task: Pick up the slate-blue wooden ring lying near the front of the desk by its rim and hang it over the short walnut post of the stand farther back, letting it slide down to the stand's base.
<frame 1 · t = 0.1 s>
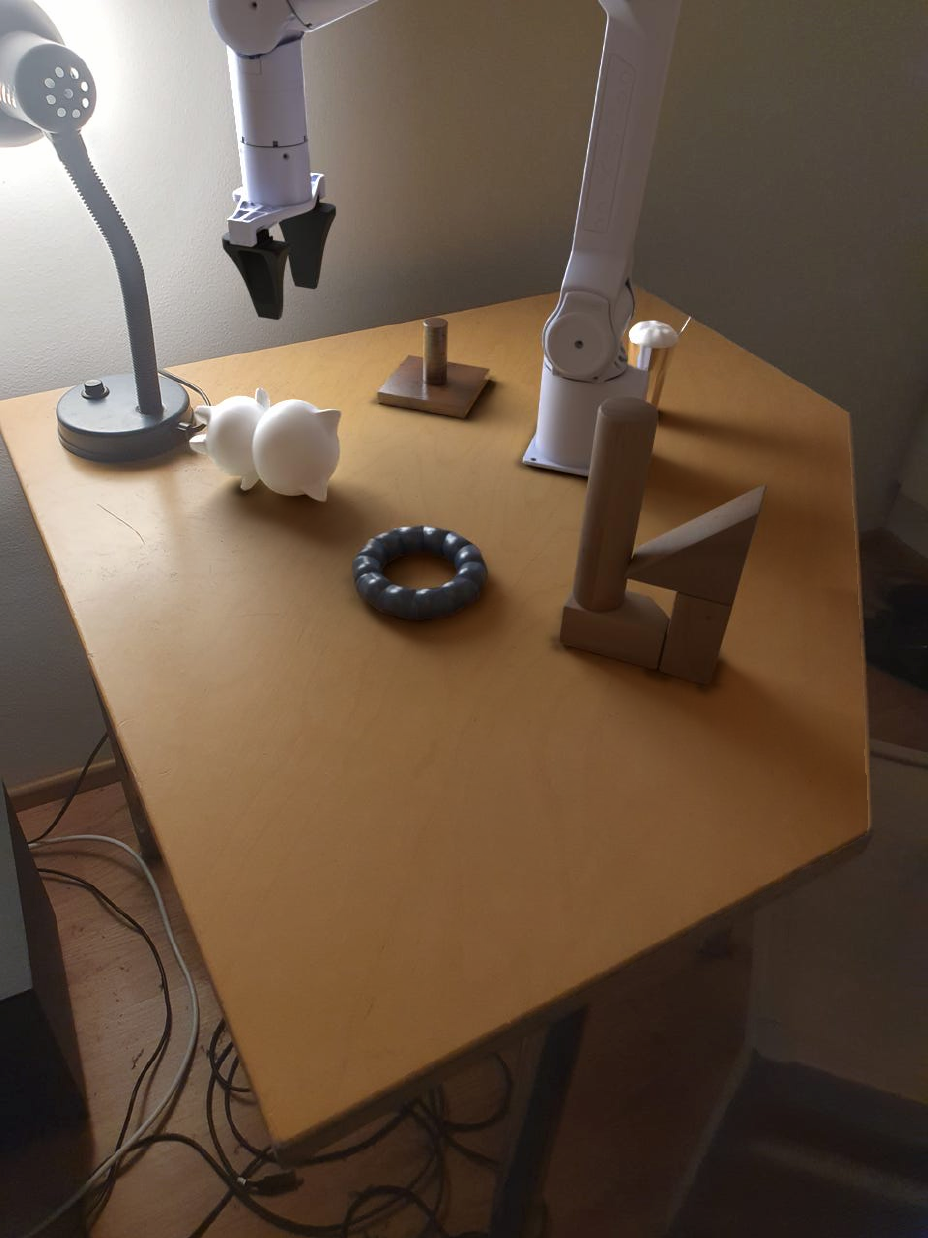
hand: (288, 301, 84), 10 cm above the table, tool pointing down, fingers open, 7 cm apart
ring: (419, 570, 69), point 1 cm above the table
stand: (434, 390, 93), on the table
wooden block: (636, 651, 64), on the table
milkshake: (643, 414, 91), on the table
cat figurine: (281, 479, 80), on the table
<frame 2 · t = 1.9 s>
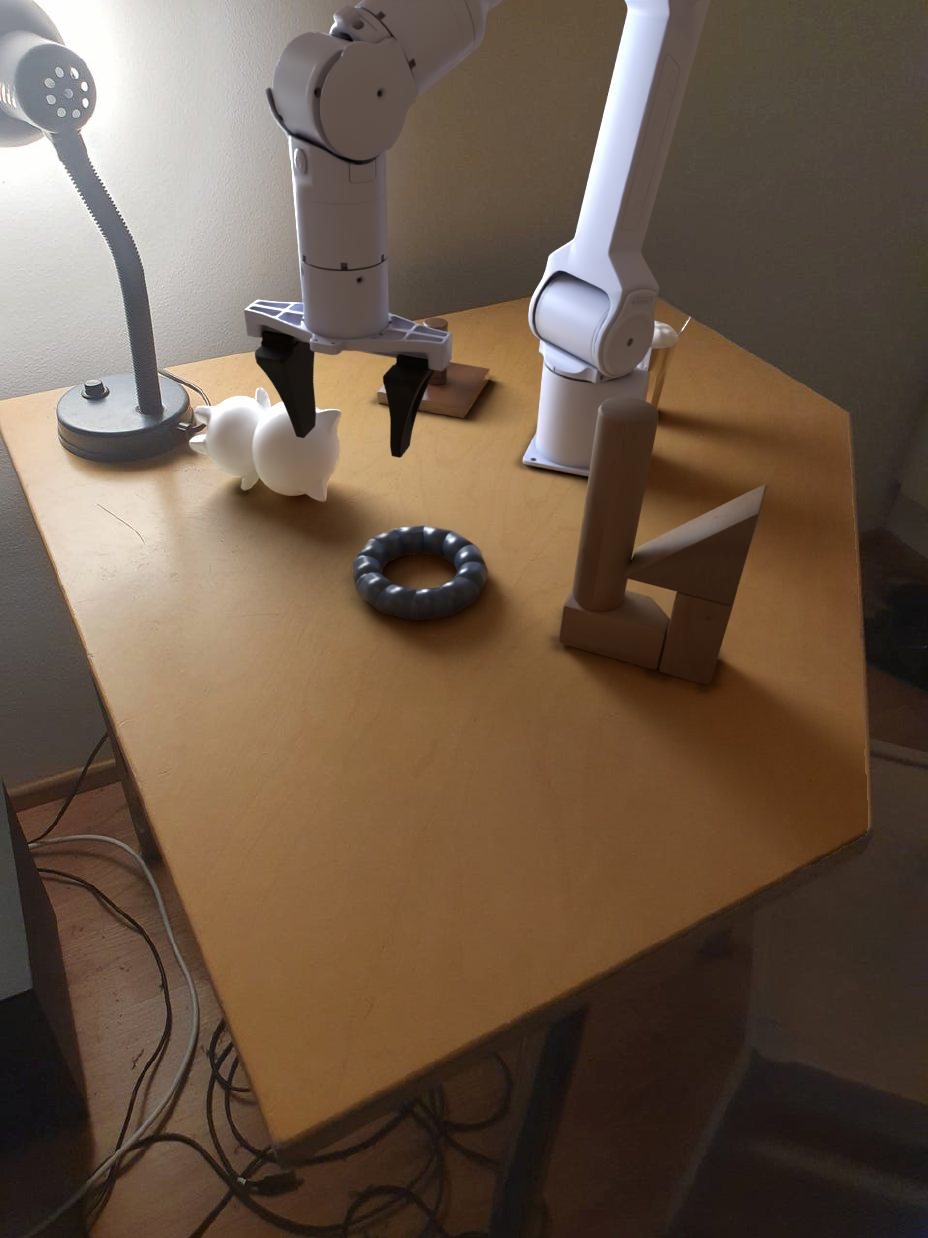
hand: (352, 440, 68), 9 cm above the table, tool pointing down, fingers open, 7 cm apart
nothing on the table moved.
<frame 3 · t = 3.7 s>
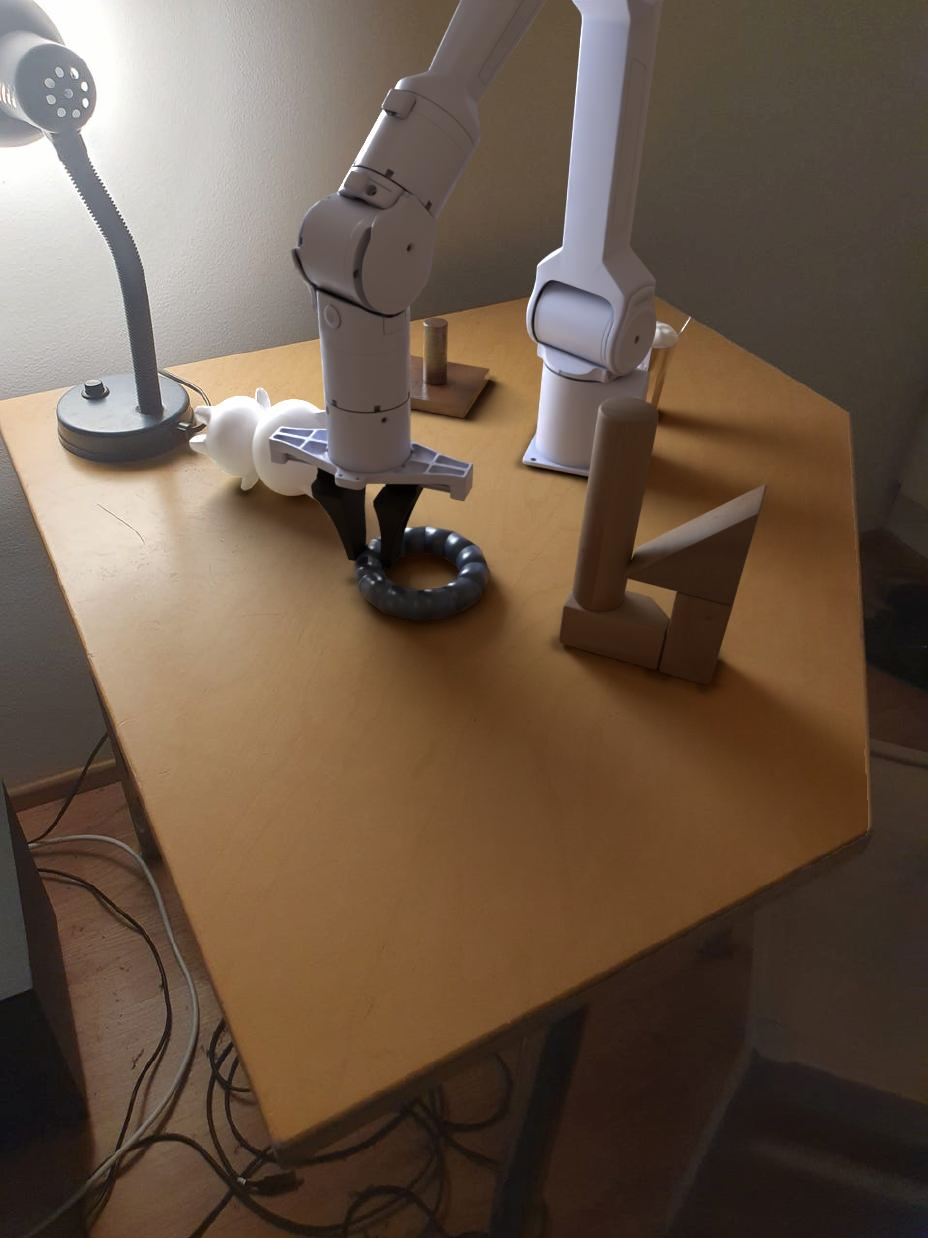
hand: (373, 557, 69), 1 cm above the table, tool pointing down, fingers closed on ring, 2 cm apart
ring: (421, 571, 69), point 1 cm above the table, touching gripper
everything else where it was.
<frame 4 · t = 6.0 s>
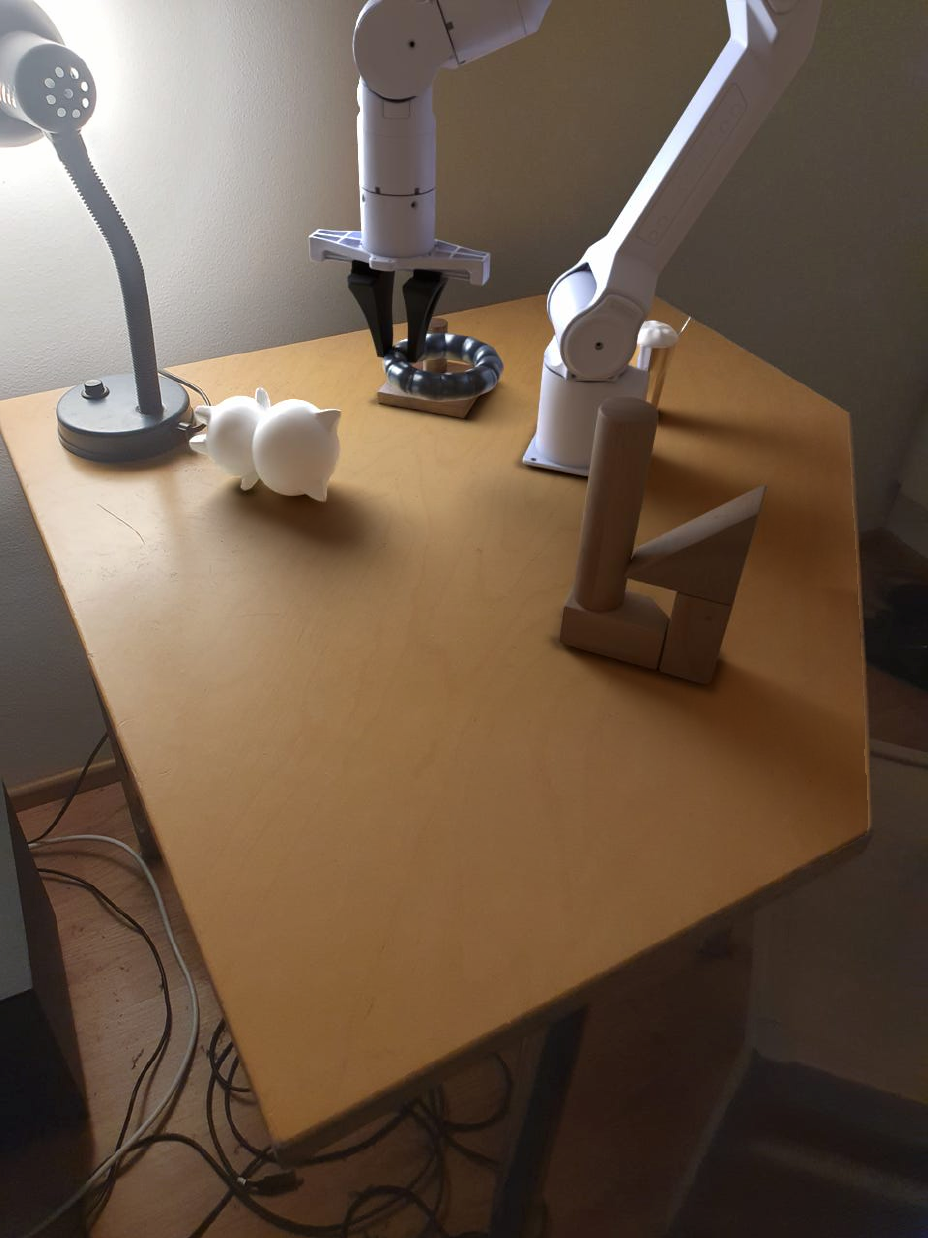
hand: (400, 355, 78), 9 cm above the table, tool pointing down, fingers closed on ring, 2 cm apart
ring: (443, 365, 77), point 9 cm above the table, touching gripper
everything else where it was.
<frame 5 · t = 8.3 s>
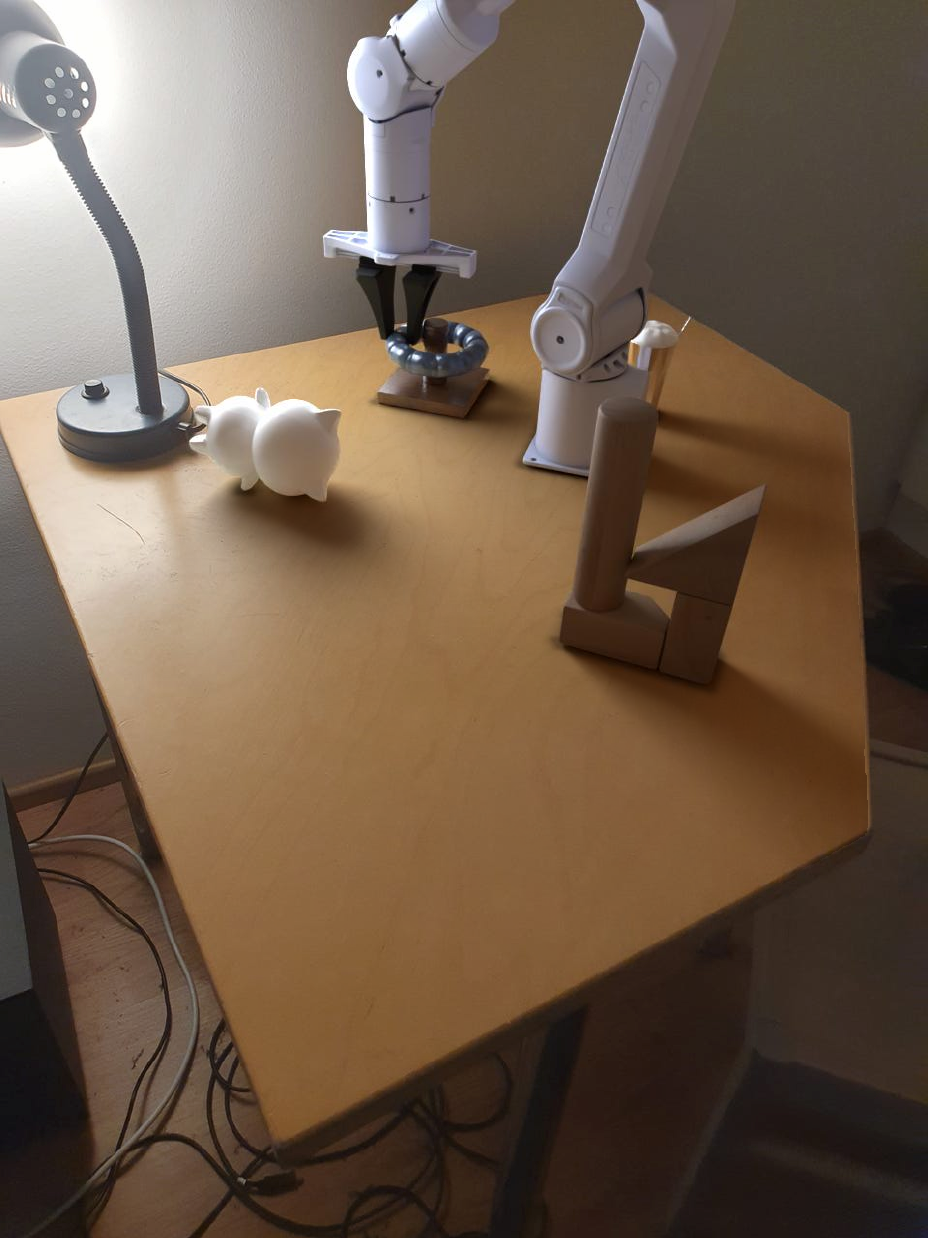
hand: (400, 338, 90), 5 cm above the table, tool pointing down, fingers closed on ring, 2 cm apart
ring: (437, 347, 90), point 5 cm above the table, touching gripper
everything else where it was.
when the fingers open (6 cm above the table, at t = 11.2 s): ring drops 3 cm, resting on stand.
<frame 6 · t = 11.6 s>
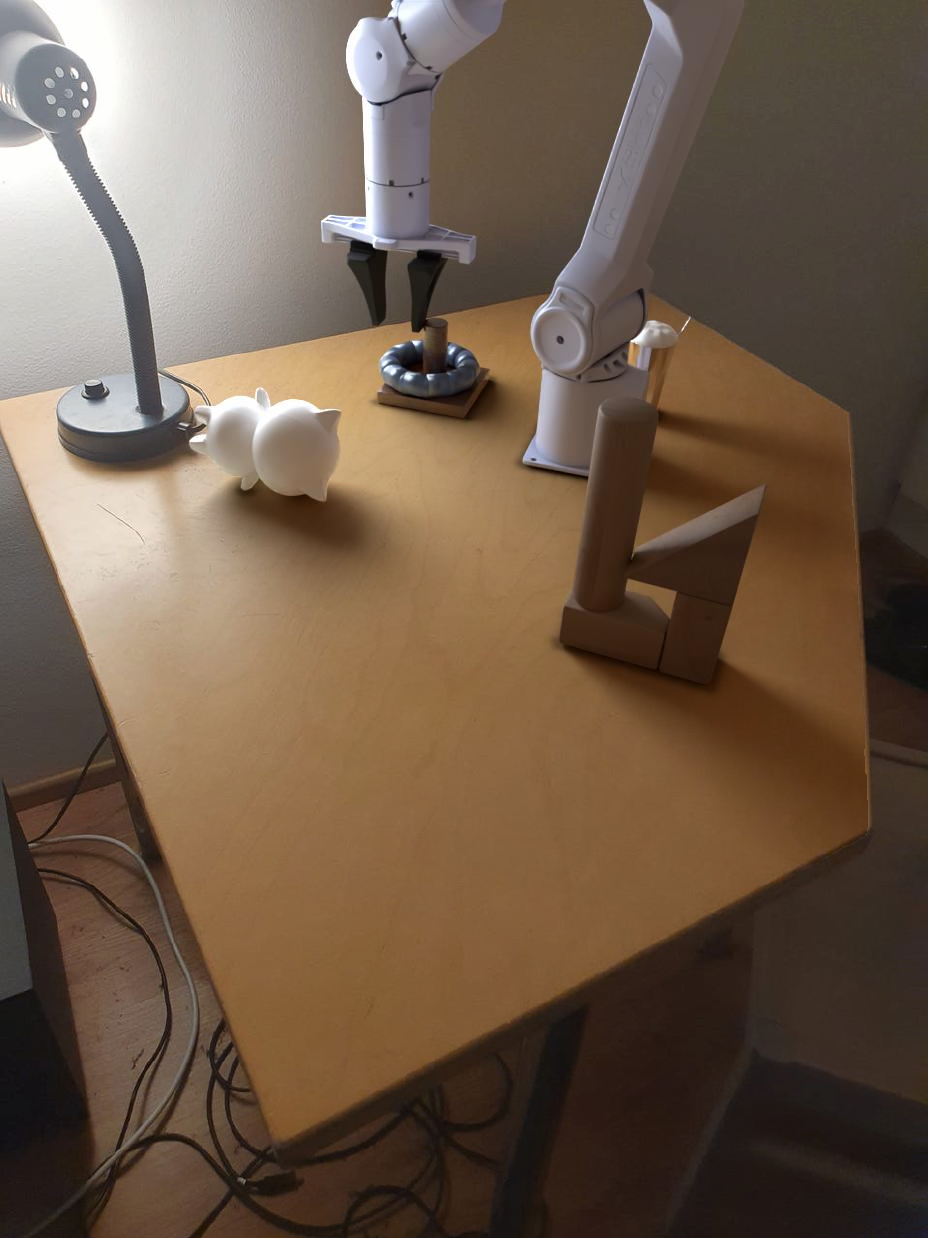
hand: (399, 325, 90), 6 cm above the table, tool pointing down, fingers open, 4 cm apart
ring: (429, 367, 92), point 2 cm above the table, touching stand
everything else where it was.
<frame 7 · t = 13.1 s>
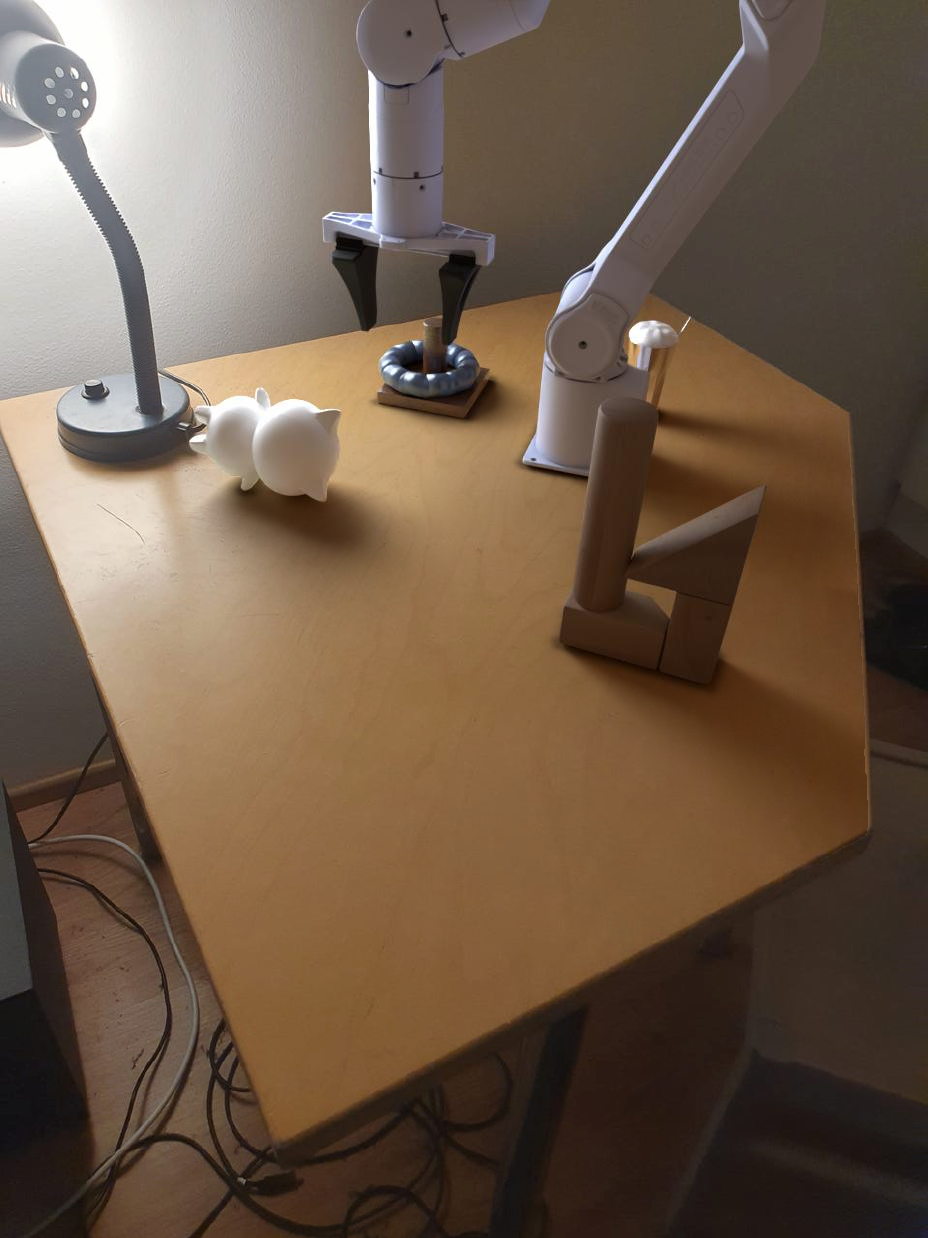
hand: (408, 333, 81), 9 cm above the table, tool pointing down, fingers open, 7 cm apart
nothing on the table moved.
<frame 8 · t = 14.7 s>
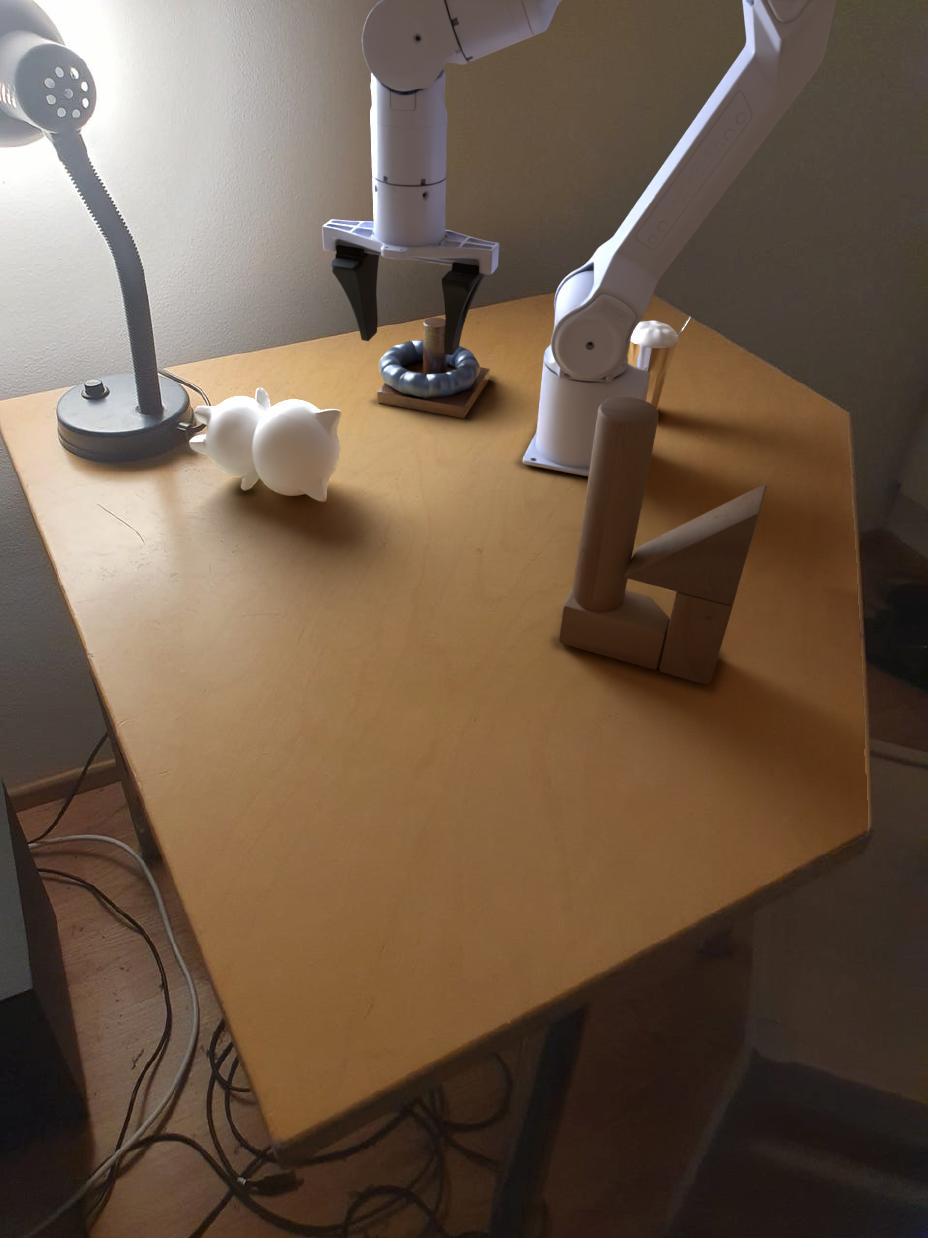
hand: (410, 343, 79), 9 cm above the table, tool pointing down, fingers open, 7 cm apart
nothing on the table moved.
at the end: ring 0.7 cm off-centre on the stand, point 2.3 cm above the stand's base; the gripper is holding nothing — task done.
